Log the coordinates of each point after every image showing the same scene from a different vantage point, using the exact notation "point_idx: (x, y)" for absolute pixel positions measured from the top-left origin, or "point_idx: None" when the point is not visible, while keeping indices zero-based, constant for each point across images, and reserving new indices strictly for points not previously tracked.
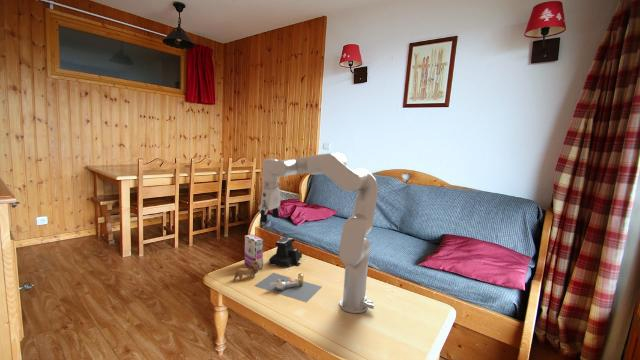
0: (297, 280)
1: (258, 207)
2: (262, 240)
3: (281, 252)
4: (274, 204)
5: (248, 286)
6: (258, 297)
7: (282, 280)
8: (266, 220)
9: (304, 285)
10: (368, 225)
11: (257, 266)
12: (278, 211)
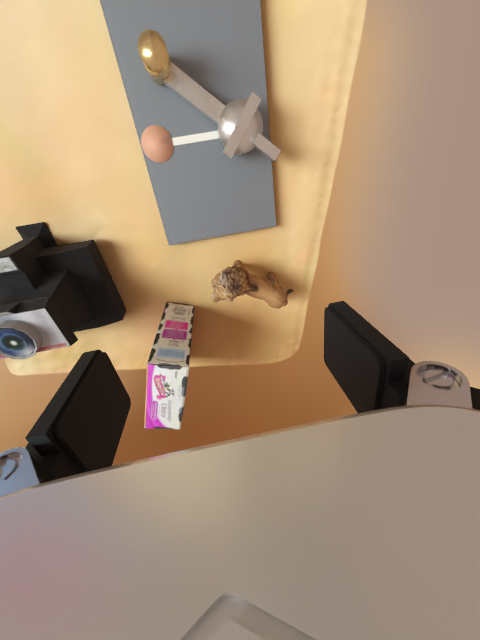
0: (140, 117)
1: None
2: (152, 361)
3: (71, 302)
4: (282, 600)
5: (275, 246)
6: (308, 168)
7: (225, 130)
8: (352, 311)
9: None
10: None
11: (233, 273)
12: (44, 414)
